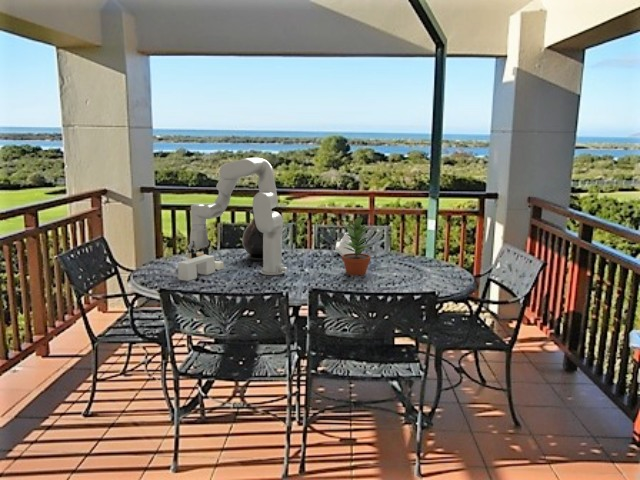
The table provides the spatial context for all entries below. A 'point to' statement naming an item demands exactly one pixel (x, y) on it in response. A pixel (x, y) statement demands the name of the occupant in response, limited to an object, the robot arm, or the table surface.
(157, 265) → the table surface
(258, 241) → the amphora vase
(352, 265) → the potted plant
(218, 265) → the plug
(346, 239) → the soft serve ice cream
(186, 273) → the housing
